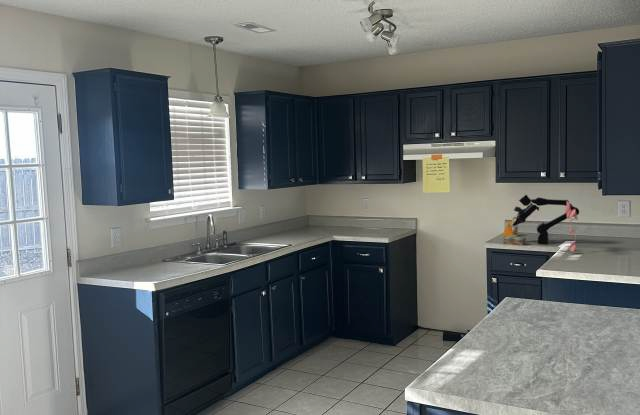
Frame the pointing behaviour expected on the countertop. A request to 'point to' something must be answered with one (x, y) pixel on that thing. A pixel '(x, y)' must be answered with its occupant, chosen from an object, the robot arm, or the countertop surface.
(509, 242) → the green slab with socket
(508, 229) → the bracket
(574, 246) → the figurine
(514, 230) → the wooden pepper mill
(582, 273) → the countertop surface
